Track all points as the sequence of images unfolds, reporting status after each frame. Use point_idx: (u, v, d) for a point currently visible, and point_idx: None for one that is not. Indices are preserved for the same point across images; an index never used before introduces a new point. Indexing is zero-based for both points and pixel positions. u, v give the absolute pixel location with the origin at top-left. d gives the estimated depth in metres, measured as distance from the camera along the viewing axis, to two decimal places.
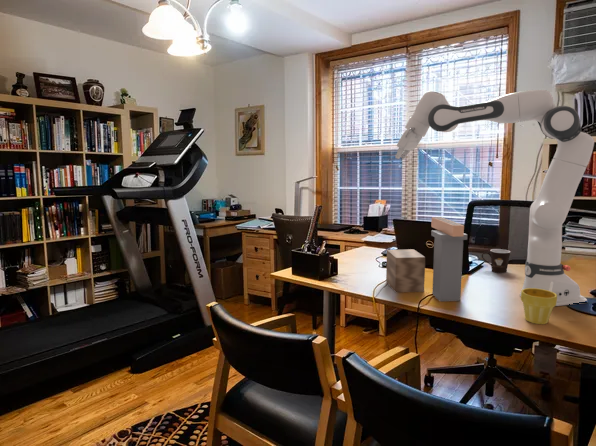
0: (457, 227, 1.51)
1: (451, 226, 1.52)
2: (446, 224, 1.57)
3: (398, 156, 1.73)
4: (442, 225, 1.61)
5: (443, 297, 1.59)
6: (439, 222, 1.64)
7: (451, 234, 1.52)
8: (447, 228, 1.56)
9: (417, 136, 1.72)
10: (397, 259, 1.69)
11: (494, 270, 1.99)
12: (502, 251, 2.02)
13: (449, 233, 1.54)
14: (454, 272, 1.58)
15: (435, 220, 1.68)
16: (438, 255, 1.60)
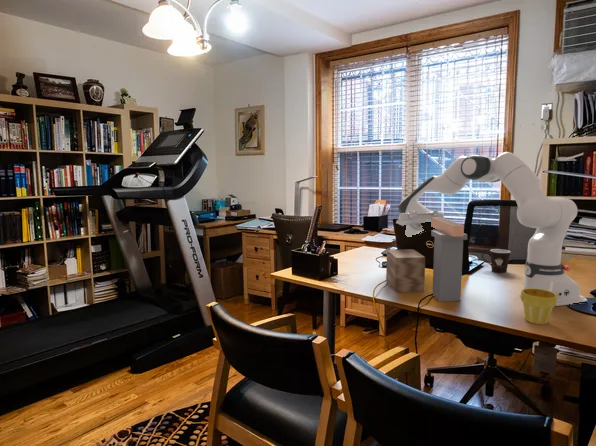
0: (457, 227, 1.51)
1: (451, 226, 1.52)
2: (446, 224, 1.57)
3: (413, 212, 1.86)
4: (442, 225, 1.61)
5: (443, 297, 1.59)
6: (439, 222, 1.64)
7: (451, 234, 1.52)
8: (447, 228, 1.56)
9: None
10: (397, 259, 1.69)
11: (494, 270, 1.99)
12: (502, 251, 2.02)
13: (449, 233, 1.54)
14: (454, 272, 1.58)
15: (435, 220, 1.68)
16: (438, 255, 1.60)
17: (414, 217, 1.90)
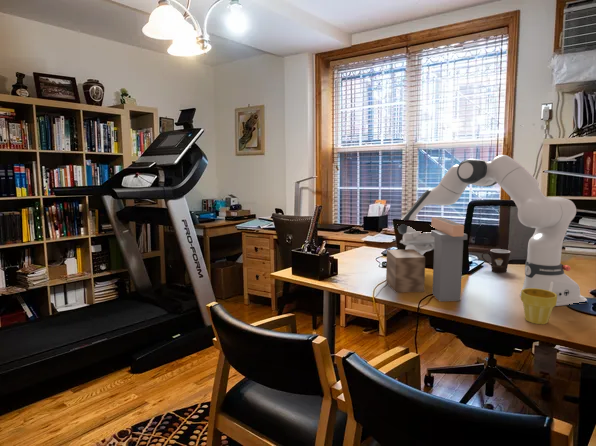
0: (457, 227, 1.51)
1: (451, 226, 1.52)
2: (446, 224, 1.57)
3: (417, 232, 1.81)
4: (442, 225, 1.61)
5: (443, 297, 1.59)
6: (439, 222, 1.64)
7: (451, 234, 1.52)
8: (447, 228, 1.56)
9: None
10: (397, 259, 1.69)
11: (494, 270, 1.99)
12: (502, 251, 2.02)
13: (449, 233, 1.54)
14: (454, 272, 1.58)
15: (435, 220, 1.68)
16: (438, 255, 1.60)
17: (418, 237, 1.84)
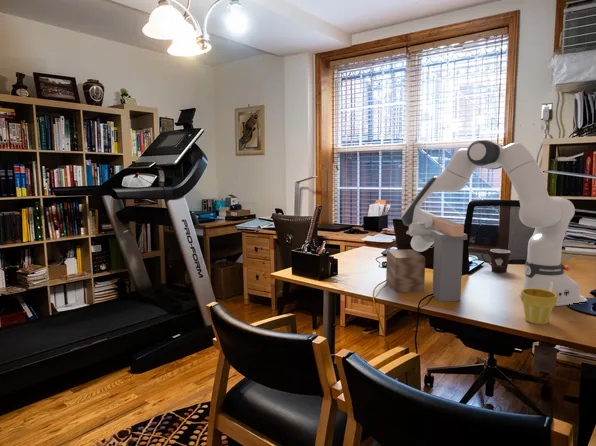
0: (457, 227, 1.51)
1: (451, 226, 1.52)
2: (446, 224, 1.57)
3: (430, 222, 1.70)
4: (442, 225, 1.61)
5: (443, 297, 1.59)
6: (439, 222, 1.64)
7: (451, 234, 1.52)
8: (447, 228, 1.56)
9: None
10: (397, 259, 1.69)
11: (494, 270, 1.99)
12: (502, 251, 2.02)
13: (449, 233, 1.54)
14: (454, 272, 1.58)
15: (435, 220, 1.68)
16: (438, 255, 1.60)
17: None
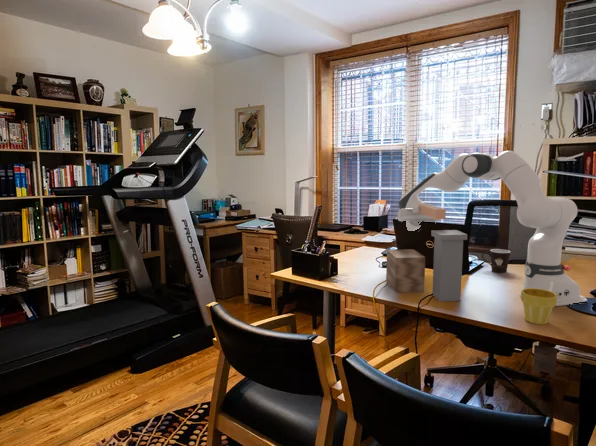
0: (439, 211, 1.66)
1: (434, 210, 1.67)
2: (430, 208, 1.72)
3: (416, 208, 1.86)
4: (427, 210, 1.76)
5: (443, 297, 1.59)
6: (424, 207, 1.79)
7: (434, 217, 1.68)
8: (431, 212, 1.71)
9: None
10: (397, 259, 1.69)
11: (494, 270, 1.99)
12: (502, 251, 2.02)
13: (432, 216, 1.69)
14: (454, 272, 1.58)
15: (421, 206, 1.83)
16: (438, 255, 1.60)
17: None
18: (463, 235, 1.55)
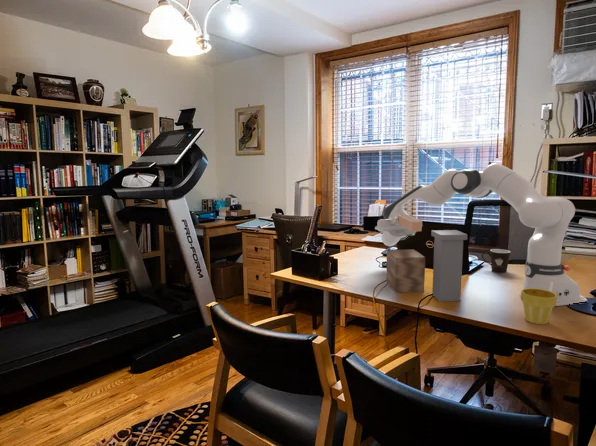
0: (415, 223, 1.67)
1: (410, 222, 1.68)
2: (407, 220, 1.72)
3: (395, 218, 1.86)
4: (404, 221, 1.76)
5: (443, 297, 1.59)
6: (402, 218, 1.79)
7: (410, 229, 1.68)
8: (408, 224, 1.72)
9: None
10: (397, 259, 1.69)
11: (494, 270, 1.99)
12: (502, 251, 2.02)
13: (409, 228, 1.70)
14: (454, 272, 1.58)
15: (399, 217, 1.84)
16: (438, 255, 1.60)
17: None
18: (463, 235, 1.55)
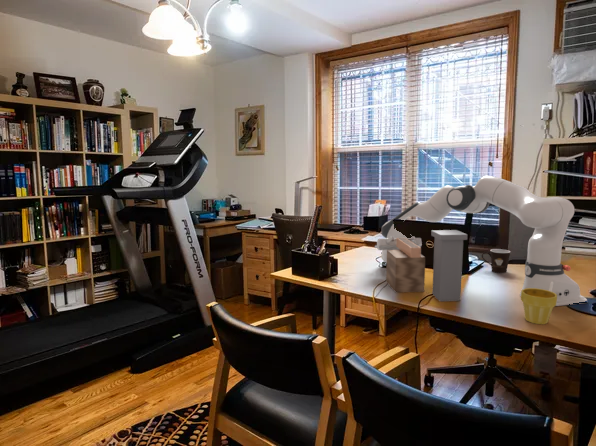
0: (415, 249, 1.68)
1: (410, 248, 1.70)
2: (406, 246, 1.74)
3: (390, 238, 1.87)
4: (403, 246, 1.78)
5: (443, 297, 1.59)
6: (401, 243, 1.81)
7: (410, 255, 1.70)
8: (407, 249, 1.73)
9: None
10: (397, 259, 1.69)
11: (494, 270, 1.99)
12: (502, 251, 2.02)
13: (408, 254, 1.71)
14: (454, 272, 1.58)
15: (399, 241, 1.85)
16: (438, 255, 1.60)
17: (392, 242, 1.91)
18: (463, 235, 1.55)
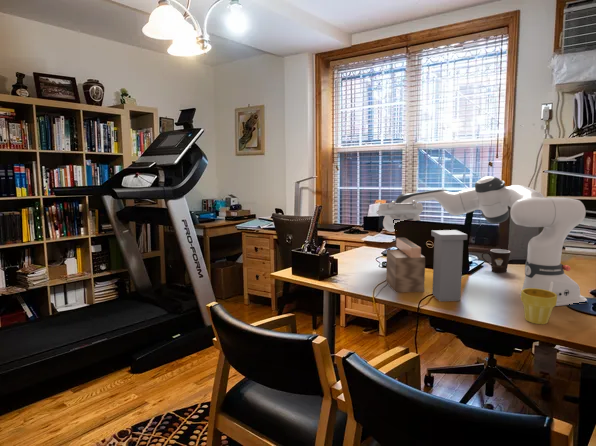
0: (415, 249, 1.68)
1: (410, 248, 1.70)
2: (406, 246, 1.74)
3: (392, 202, 1.91)
4: (403, 246, 1.78)
5: (443, 297, 1.59)
6: (401, 243, 1.81)
7: (410, 255, 1.70)
8: (407, 249, 1.73)
9: None
10: (397, 259, 1.69)
11: (494, 270, 1.99)
12: (502, 251, 2.02)
13: (408, 254, 1.71)
14: (454, 272, 1.58)
15: (399, 241, 1.85)
16: (438, 255, 1.60)
17: (393, 207, 1.95)
18: (463, 235, 1.55)
